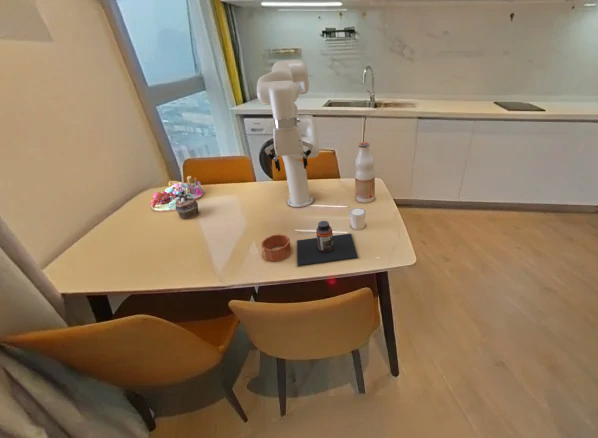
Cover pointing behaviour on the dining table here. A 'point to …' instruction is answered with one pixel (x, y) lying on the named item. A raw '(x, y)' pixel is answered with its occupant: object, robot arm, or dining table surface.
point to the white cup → (357, 218)
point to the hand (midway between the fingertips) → (292, 168)
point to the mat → (312, 255)
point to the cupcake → (186, 206)
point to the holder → (276, 253)
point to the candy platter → (175, 194)
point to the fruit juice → (364, 174)
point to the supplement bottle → (324, 236)
